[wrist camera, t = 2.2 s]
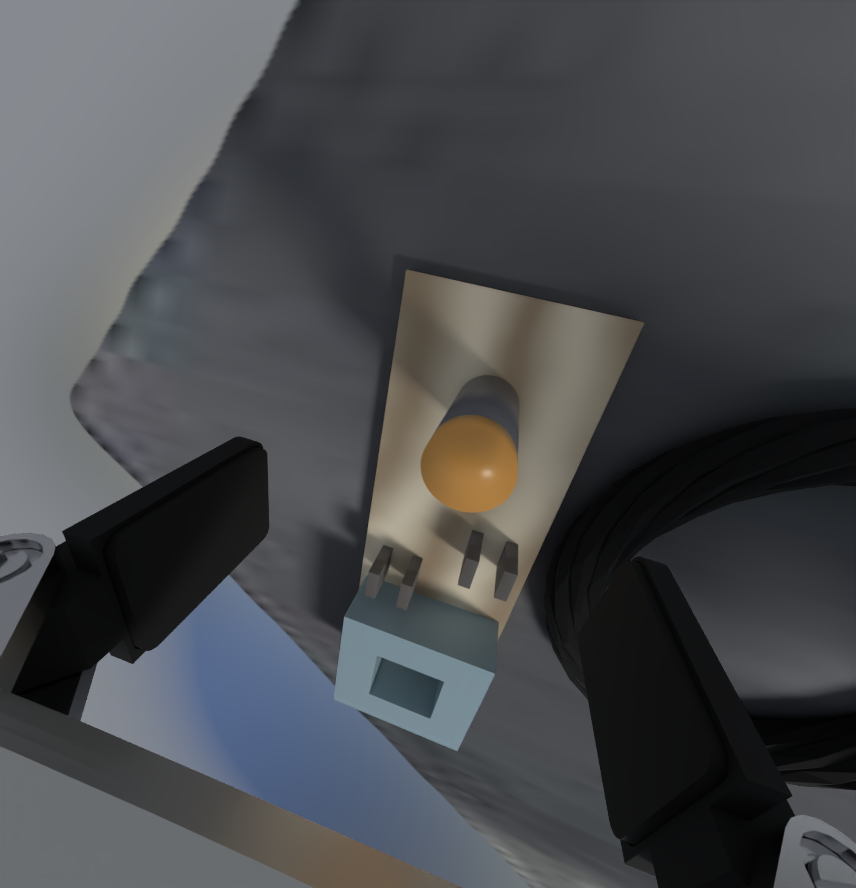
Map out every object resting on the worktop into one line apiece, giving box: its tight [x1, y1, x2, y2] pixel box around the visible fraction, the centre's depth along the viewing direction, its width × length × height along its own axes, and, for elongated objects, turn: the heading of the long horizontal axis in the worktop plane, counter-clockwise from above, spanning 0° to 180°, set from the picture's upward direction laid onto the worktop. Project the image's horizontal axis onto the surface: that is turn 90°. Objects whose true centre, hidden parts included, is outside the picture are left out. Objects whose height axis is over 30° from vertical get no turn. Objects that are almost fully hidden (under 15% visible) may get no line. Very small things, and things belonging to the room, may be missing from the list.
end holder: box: [334, 575, 499, 751], centre depth 28 cm, size 11×11×4 cm
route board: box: [359, 270, 644, 639], centre depth 24 cm, size 12×36×4 cm, turn 169°
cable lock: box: [545, 408, 856, 790], centre depth 20 cm, size 28×4×30 cm
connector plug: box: [420, 375, 519, 513], centre depth 16 cm, size 4×4×8 cm
